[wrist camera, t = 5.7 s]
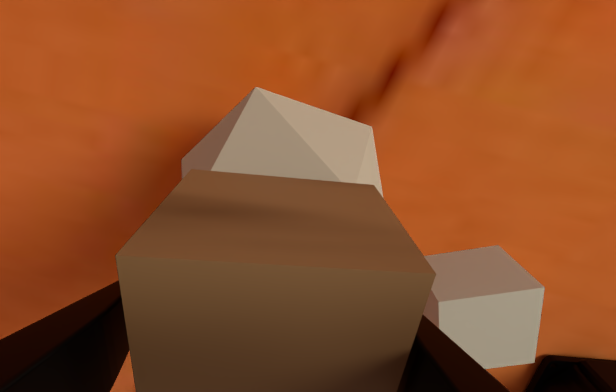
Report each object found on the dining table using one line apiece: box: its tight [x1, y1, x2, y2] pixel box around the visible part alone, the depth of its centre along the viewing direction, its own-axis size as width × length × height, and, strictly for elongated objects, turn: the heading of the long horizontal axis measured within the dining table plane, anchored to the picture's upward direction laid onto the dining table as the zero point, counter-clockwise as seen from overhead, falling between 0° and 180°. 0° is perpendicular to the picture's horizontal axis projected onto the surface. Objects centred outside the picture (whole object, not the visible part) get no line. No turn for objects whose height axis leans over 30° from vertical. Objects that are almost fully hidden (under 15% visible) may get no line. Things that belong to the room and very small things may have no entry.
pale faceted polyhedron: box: [181, 87, 383, 197], centre depth 13 cm, size 8×9×10 cm
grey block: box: [423, 245, 545, 369], centre depth 18 cm, size 5×5×4 cm
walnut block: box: [115, 169, 436, 392], centre depth 8 cm, size 5×5×4 cm
